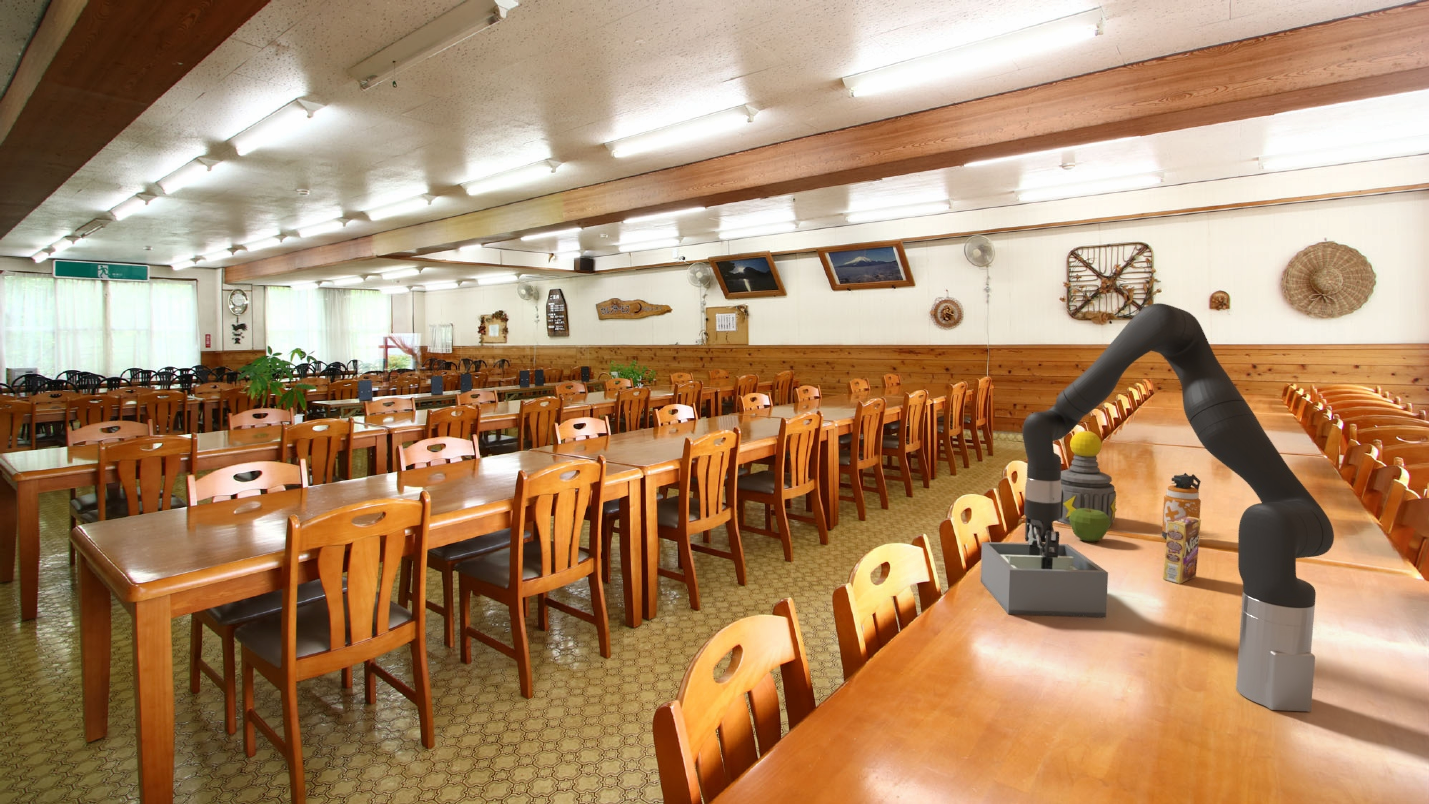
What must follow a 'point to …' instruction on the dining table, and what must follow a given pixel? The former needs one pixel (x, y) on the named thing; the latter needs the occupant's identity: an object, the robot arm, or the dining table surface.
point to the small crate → (1038, 562)
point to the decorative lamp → (1086, 480)
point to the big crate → (1044, 583)
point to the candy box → (1181, 549)
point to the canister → (1181, 500)
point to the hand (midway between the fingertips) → (1040, 567)
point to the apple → (1089, 524)
